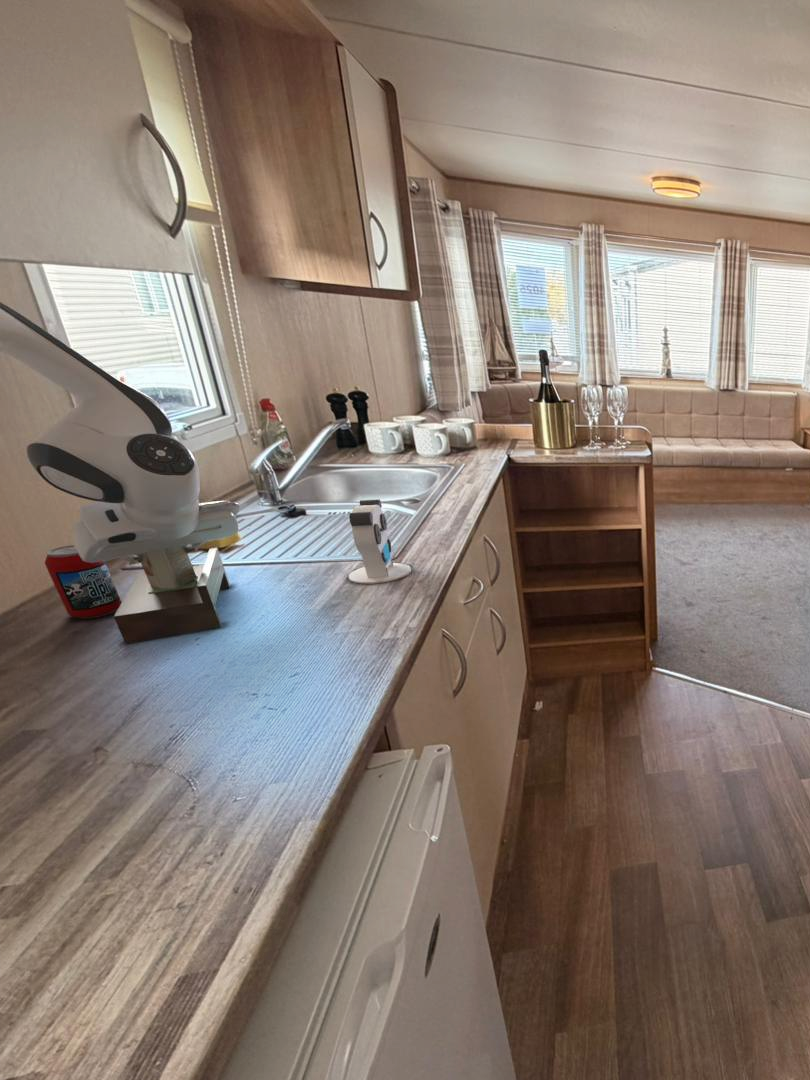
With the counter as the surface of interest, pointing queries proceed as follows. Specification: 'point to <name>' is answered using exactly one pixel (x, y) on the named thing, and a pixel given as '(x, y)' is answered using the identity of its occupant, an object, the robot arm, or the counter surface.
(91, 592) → the beverage can
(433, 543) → the counter surface
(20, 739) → the counter surface
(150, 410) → the robot arm
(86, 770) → the counter surface
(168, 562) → the cream cardboard box
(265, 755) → the counter surface
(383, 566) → the panda figurine
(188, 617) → the shelf
